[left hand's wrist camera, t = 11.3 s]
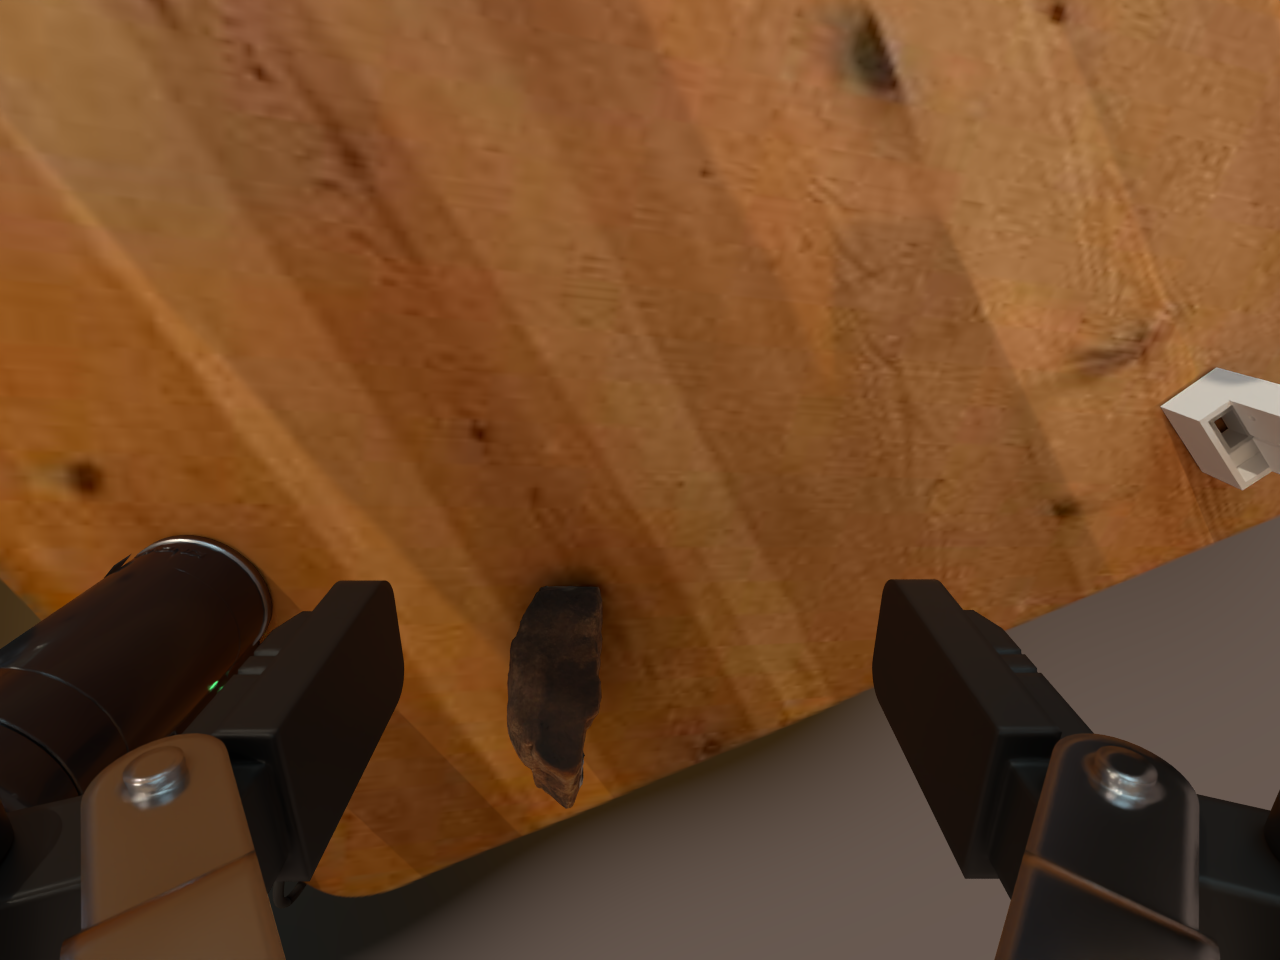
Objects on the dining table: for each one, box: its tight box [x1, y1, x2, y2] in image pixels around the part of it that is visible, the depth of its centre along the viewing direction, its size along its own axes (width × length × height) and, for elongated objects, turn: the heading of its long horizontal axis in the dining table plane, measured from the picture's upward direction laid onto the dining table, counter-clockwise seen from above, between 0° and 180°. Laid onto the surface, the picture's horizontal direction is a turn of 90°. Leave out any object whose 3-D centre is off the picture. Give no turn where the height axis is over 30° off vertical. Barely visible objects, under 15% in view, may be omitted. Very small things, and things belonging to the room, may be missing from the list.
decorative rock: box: [507, 586, 602, 809], centre depth 44 cm, size 12×6×11 cm, turn 170°
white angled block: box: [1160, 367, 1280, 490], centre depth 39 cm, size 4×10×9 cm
